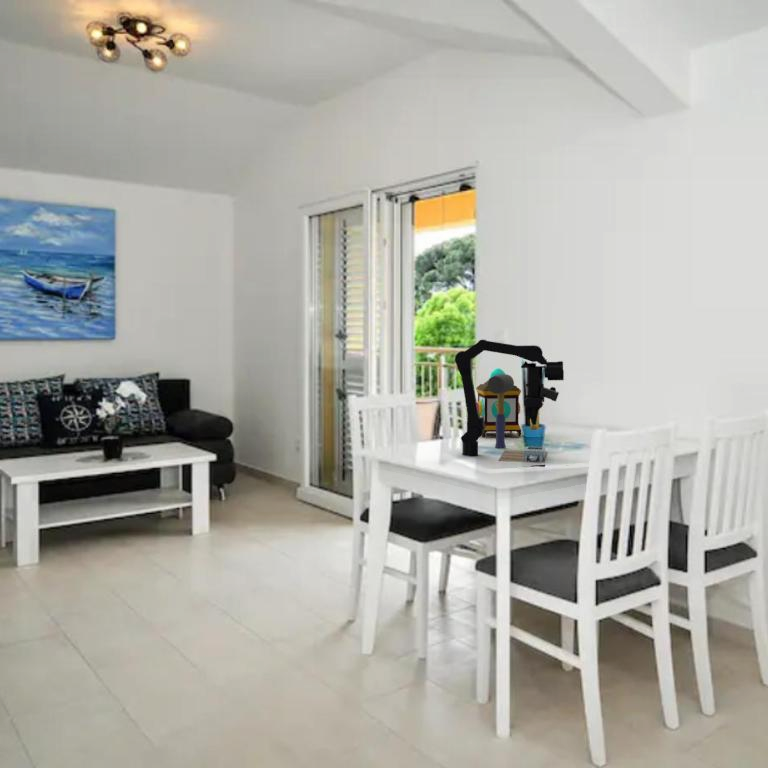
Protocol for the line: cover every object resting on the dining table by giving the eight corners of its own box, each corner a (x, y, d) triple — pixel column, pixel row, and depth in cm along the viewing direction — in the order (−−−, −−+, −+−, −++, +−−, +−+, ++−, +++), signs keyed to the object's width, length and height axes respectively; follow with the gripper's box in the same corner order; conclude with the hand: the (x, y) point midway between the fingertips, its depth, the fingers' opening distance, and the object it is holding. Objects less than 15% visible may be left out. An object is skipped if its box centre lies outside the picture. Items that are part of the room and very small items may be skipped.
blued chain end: (525, 454, 282) (525, 446, 282) (545, 455, 281) (545, 447, 280) (522, 461, 267) (522, 453, 267) (543, 462, 266) (543, 453, 266)
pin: (525, 429, 279) (525, 404, 278) (537, 428, 280) (537, 403, 280) (532, 430, 275) (532, 405, 274) (543, 429, 276) (543, 404, 275)
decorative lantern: (514, 432, 356) (514, 367, 354) (525, 438, 337) (526, 369, 334) (471, 432, 355) (471, 367, 353) (479, 438, 335) (480, 369, 333)
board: (504, 454, 293) (504, 450, 293) (547, 455, 289) (547, 451, 289) (497, 465, 270) (498, 460, 269) (544, 466, 266) (544, 462, 266)
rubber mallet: (504, 454, 292) (504, 375, 290) (485, 453, 296) (485, 374, 294) (514, 449, 303) (515, 373, 301) (496, 448, 307) (497, 373, 305)
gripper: (556, 382, 265) (556, 427, 266) (558, 378, 283) (558, 421, 284) (523, 382, 268) (524, 427, 269) (527, 378, 286) (527, 420, 287)
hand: (534, 423), depth 277 cm, fingers closed on pin, 3 cm apart
